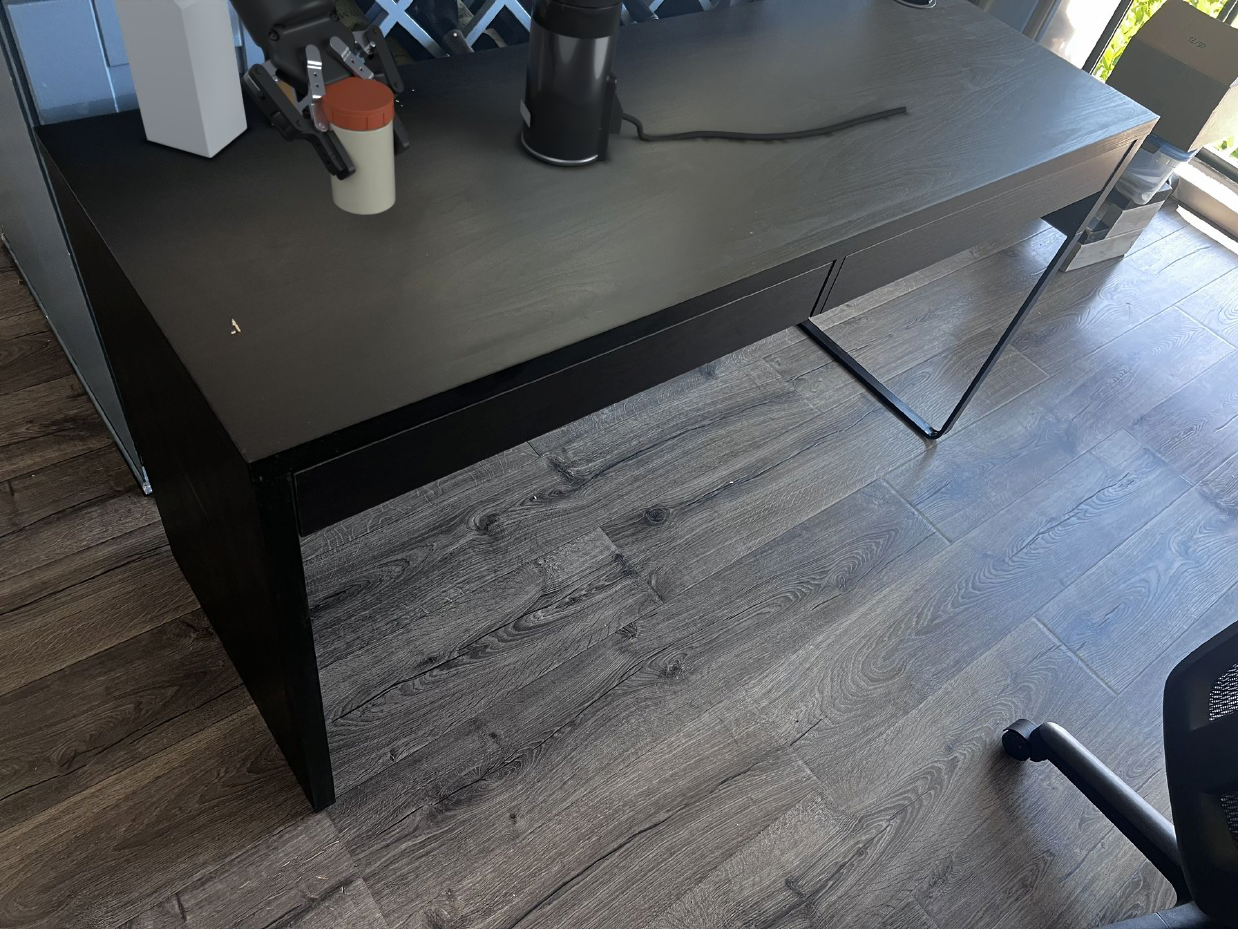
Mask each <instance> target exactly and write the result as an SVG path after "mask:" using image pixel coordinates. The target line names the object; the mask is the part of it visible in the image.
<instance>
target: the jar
mask: <svg viewBox="0 0 1238 929" xmlns="http://www.w3.org/2000/svg"><path fill="white" fill-rule="evenodd" d="M328 124H329V128H328V130H329V131H331V130H334V132H335V133H336V135H337V137H338V138H339V140H340V142H341V144H342V145H343V147H344V149H345V150H346V152H347V154H348V156H349V157H350V159H351V161H352V162H353V164H354V166H355V169H356V172H355V173H354V174H352V175H351V176H350V177H348V178H346V179H344V180H342V181H341V180H339V179H338V178H337V177H336V175H335V176H333V175H332V174H331V173H329V177H330V188H331V198H332V201H333V203H334V205H336V207H337V208H340V209H341V210H343V211H345V212H348V213H349V214H350V213H351V214H355V215H364V216H365V215H367V216H368V215H369V216H370V215H376V214H377V215H378V214H380V213H383V212H385V211H387V210H389V209H391V208H392V207H393V206H394V205H395V203H396V198H397V197H396V195H397V194H396V192H397V191H396V167H395V165H396V164H395V156H394V138H393V119H392V120H391V121H390V122H389V123H388V124H387V125H385V126H382V127H380V128H376V129H371V130H351V129H346V128H342V127H339V126H337V125H334V124H332V123H331V122H329V121H328Z"/></svg>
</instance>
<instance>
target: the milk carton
mask: <svg viewBox="0 0 1238 929" xmlns="http://www.w3.org/2000/svg"><path fill="white" fill-rule="evenodd" d="M113 3H114V8H115V11H116V15H117V19H118V22H119V23H118V24H119V27H120V32H121V35H122V40H123V44H124V48H125V52H126V58H127V60H128V66H129V70H130V74H131V77H132V82H133V86H134V90H135V94H136V97H137V104H138V107H139V112H140V116H141V120H142V123H143V128H144V132H145V135H146V140H147V141H149V142H154V143H157V144H159V145H163V146H167V147H171V148H174V149H178V150H181V151H185V152H187V153H191V154H195V155H198V156H202V157H206V158H213V157H214V156H216V155H217V154H218V153H219V152H221V151H222V149H225V147H226V146H228V145H229V144H231V142H232V141H234V140H235V139H237V137H239V136H240V135H241V134H243V133H244V132H245V131H246V130H247V129H248V124H247V119H246V118H247V117H246V111H245V105H244V99H243V93H242V87H241V86H242V85H241V78H240V74H239V65H238V60H237V55H236V47H235V42H234V35H233V29H232V21H231V15H230V9H229V3H228V0H113Z"/></svg>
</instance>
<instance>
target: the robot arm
mask: <svg viewBox="0 0 1238 929" xmlns="http://www.w3.org/2000/svg"><path fill="white" fill-rule="evenodd" d="M228 1H229V2H230V5H231V6H232V8H233V9H234V11H235V13H236V14H237V16H238V18H239V20H240V21H241V23H242V24H243V27H244V28H245V30H246V31H247V33H248V35H249V36H250V38H251V40H252V41H253V43H254V44H255V46H257V47H259V48H260V49H261V51H262V54H263V59H264V62H262V63H253V64H252V66H250V68H249V69H248V70H247V71H246V72H245V73H244V74H243V76H242V77H241V78H240V85H241V86H242V88H243V89H244V90H245V92H246V93H247V94H248V96H249V97H250V98H251V99H252V100H253V101H254V102H255V104H256V106H258V108H259V109H260V111H261V112H262V114H264V116H265V117H266V118H267V119H268V121H269V122H270V123H271V125H272V124H273V125H272V126H273V127H274V128H275V129H276V130H277V132H278V133H279V134H280V136H281V137H282V138H283V139H284V140H285V141H286V142H294V141H295V140H298V141H299V140H301V141H302V140H303V141H307V142H309V143H310V144H311V145H312V146H313V148H314V150H315V151H316V153H317V155H318V156H319V158H320V160H321V162H322V163H323V165H324V167H325V168H326V170H327V172H328V173H329V174H330V173H331V174H332V175H333V176H335V175H336V177H337V178H338V179H339V180H341V181H342V180H344V179H346V178H348V177H350V176H351V175H352V174H354V173H355V172H356V169H355V166H354V164H353V162H352V161H351V159H350V157H349V156H348V154H347V152H346V150H345V149H344V147H343V145H342V144H341V142H340V140H339V138H338V137H337V135H336V133H335V132H334V130H331V131H329V130H328V128H329V124H328V119H327V117H326V114H325V112H324V108H323V107H322V102H323V101H322V95H325V94H326V92H325V86H328V85H331V84H333V83H336V82H339V81H341V80H344V79H347V78H349V77H357V78H360V79H372V80H375V81H378V82H381V83H383V84H384V85H386V86H387V87H389V88H390V89H391V91H392V93H393V101H395V99H397V97H398V96H399V95H400V94H401V93H402V92H403V91H404V89H405V86H404V83H403V81H402V80H403V79H402V78H401V75H400V73H399V71H398V68H397V65H396V63H395V60H394V58H393V55H392V53H391V50H390V48H389V46H388V44H387V41H386V38H385V35H384V33H383V31H382V29H381V27H380V26H378V25H377V24H371V25H370V26H369V27H368V28H367V29H365V30H356V31H355V30H354V31H352V30H351V29H350V28H349V27H348V26H346V24H344V23H343V21H342V20H341V19H340V17H339V15H338V11H337V7H336V6H337V5H336V2H335V0H228ZM623 5H624V0H531V12H530V22H529V23H530V24H529V37H528V38H529V39H528V50H527V65H526V77H525V93H524V101H523V100H522V98H520V106H519V107H520V108H519V112H520V114H521V115H522V117H523V119H522V126H521V127H522V131H521V134H520V135H521V136H520V143H521V147H522V148H523V149H524V151H526V152H527V153H528V154H529V155H530V156H531V157H533V158H535V159H537V160H539V161H541V162H544V163H547V164H551V165H553V166H554V165H555V166H560V167H580V166H585V165H589V164H591V163H594V162H596V161H605V160H607V154H608V147H609V140H610V135H620V134H621V128H622V121H623V120H624V121H626V122H628V123H631V124H632V125H634V126H635V127H636V133H637V136H638V137H639V138H640V139H641V140H643V141H646V142H664V141H680V140H686V139H693V138H724V139H738V140H750V141H751V140H752V141H753V140H754V141H756V140H757V141H764V140H765V141H767V140H768V141H769V140H770V141H771V140H772V141H773V140H788V139H798V138H805V137H806V138H807V137H812V136H817V135H825V134H828V133H833V132H837V131H840V130H844V129H846V128H850V127H854V126H856V125H859V124H864V123H868V122H871V121H876V120H879V119H883V118H887V117H891V116H894V115H899V114H903V113H905V112H906V111H907V110H908V109H907V107H906V106H900V107H896V108H892V109H888V110H883V111H880V112H876V113H872V114H868V115H863V116H861V117H858V118H854V119H850V120H848V121H844V122H841V123H837V124H833V125H830V126H825V127H820V128H814V129H807V130H801V131H791V132H776V133H775V132H774V133H772V132H771V133H751V132H750V133H749V132H736V131H723V130H722V131H721V130H693V131H686V132H681V133H676V134H670V135H663V136H656V135H655V136H654V135H651V134H650V135H649V134H647V133H645V132H644V127H643V124H642V122H641V121H640V120H639V119H638V118H636V117H635V116H633V115H631V114H629V113H626V112H624V109H623V107H622V105H621V104H622V103H621V102H620V99H619V97H618V95H617V93H616V92H617V85H618V77H617V74H616V72H615V70H614V68H615V61H616V55H617V53H616V52H617V47H618V40H619V34H620V26H621V20H622V19H621V18H622V12H623ZM356 51H357V52H358V53H357V56H358V57H357V56H356ZM361 59H363V60H364V62H362V60H361ZM364 63H365V64H364ZM278 81H283V82H285V83H286V84H288V85H289V86H291V88H292V93H293V98H294V104H295V106H294V105H293V104H292V102H291V101H290V100H289V98H288V97H287V96H286V95H285V93H284V92H283V91H282V89H281V88H280V87H279V82H278ZM393 138H394V157H397V156H399V155H402V154H403V153H404V152H406V151H407V150H409V149H410V142H409V141H410V136H409V133H408V131H407V129H406V128H405V126H404V124H403V122H402V120H401V118H400V117H399V115H398V113H397V112H396V110H395V109H394V118H393Z"/></svg>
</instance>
